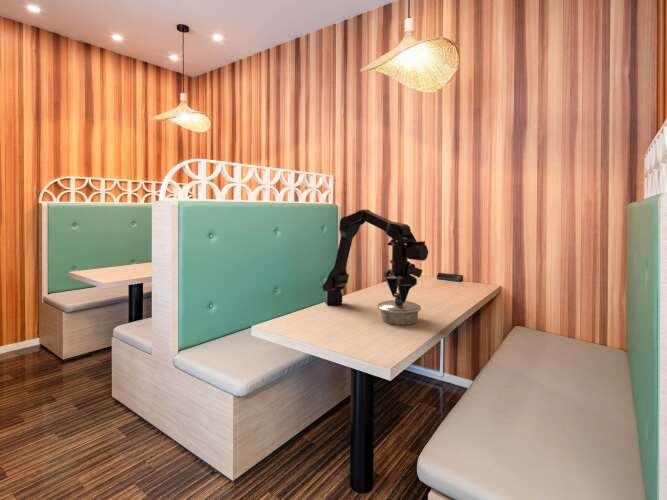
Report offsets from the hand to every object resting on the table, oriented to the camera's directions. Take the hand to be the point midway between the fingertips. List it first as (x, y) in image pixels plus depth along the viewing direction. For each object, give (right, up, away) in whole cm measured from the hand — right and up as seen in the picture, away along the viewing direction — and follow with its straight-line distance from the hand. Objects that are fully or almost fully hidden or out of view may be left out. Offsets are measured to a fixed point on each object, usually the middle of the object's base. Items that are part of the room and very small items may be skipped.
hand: (398, 299), depth 141 cm
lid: (0, -3, 0) cm, 3 cm away
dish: (0, -8, +1) cm, 8 cm away
